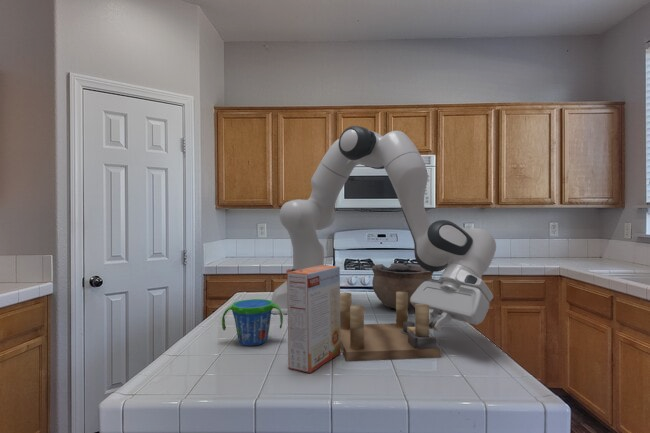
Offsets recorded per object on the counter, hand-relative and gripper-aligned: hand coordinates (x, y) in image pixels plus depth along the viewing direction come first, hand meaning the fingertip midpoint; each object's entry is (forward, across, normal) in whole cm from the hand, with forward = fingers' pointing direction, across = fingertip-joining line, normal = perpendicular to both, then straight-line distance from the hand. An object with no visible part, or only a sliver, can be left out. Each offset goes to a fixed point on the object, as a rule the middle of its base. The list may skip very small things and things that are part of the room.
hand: (431, 328), depth 90 cm
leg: (+2, -5, +2) cm, 6 cm away
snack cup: (+27, -30, -20) cm, 45 cm away
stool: (+8, -12, 0) cm, 14 cm away
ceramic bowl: (-14, -38, +23) cm, 47 cm away
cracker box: (+23, -10, -15) cm, 29 cm away
